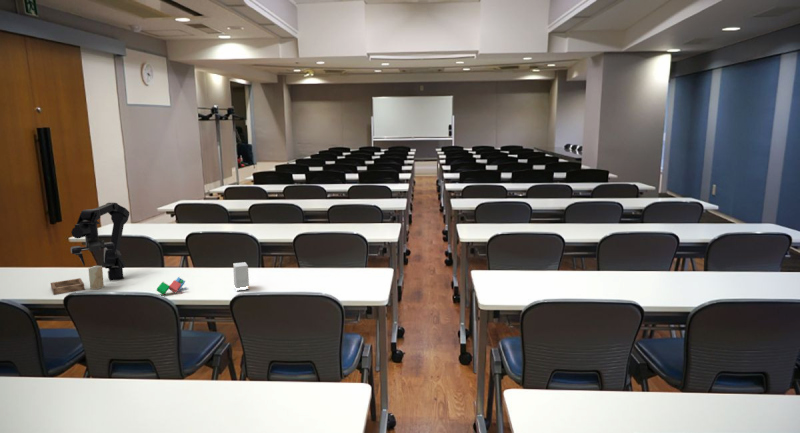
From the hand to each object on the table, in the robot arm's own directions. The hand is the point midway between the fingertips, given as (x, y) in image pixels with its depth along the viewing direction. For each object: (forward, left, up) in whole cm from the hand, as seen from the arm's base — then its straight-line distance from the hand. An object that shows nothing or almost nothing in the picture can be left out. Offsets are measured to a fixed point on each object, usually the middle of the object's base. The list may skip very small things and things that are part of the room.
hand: (94, 264), depth 254 cm
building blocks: (-28, +32, -13) cm, 44 cm away
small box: (-57, +50, -13) cm, 77 cm away
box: (0, 0, -13) cm, 13 cm away
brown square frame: (+12, -7, -13) cm, 19 cm away
